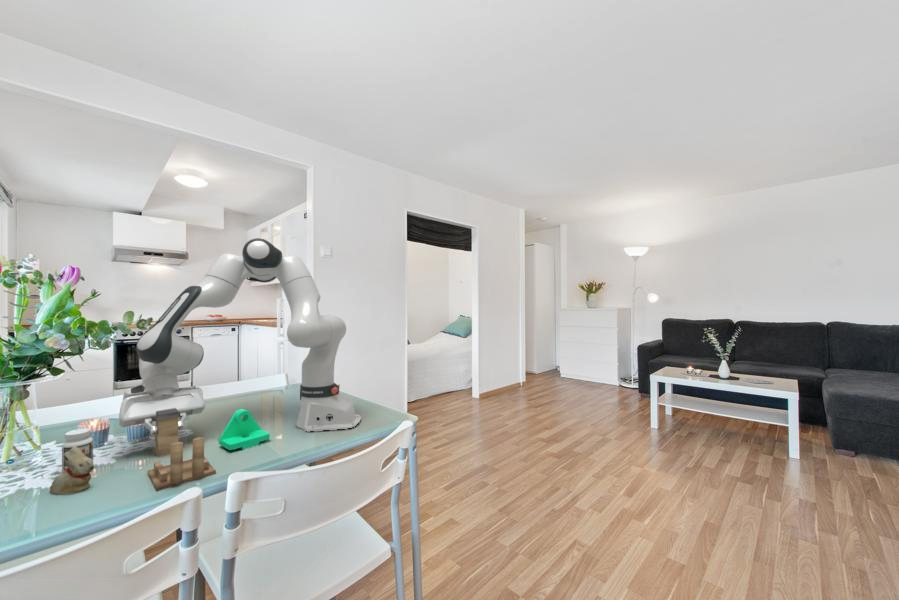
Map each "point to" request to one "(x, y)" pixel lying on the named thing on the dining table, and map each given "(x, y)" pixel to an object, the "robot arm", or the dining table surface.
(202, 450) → the wooden twin towers
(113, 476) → the dining table surface
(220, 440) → the camera mount
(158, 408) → the robot arm
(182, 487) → the dining table surface
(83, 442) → the pill bottle
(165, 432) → the brown tall rectangular block
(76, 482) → the chocolate bunny
